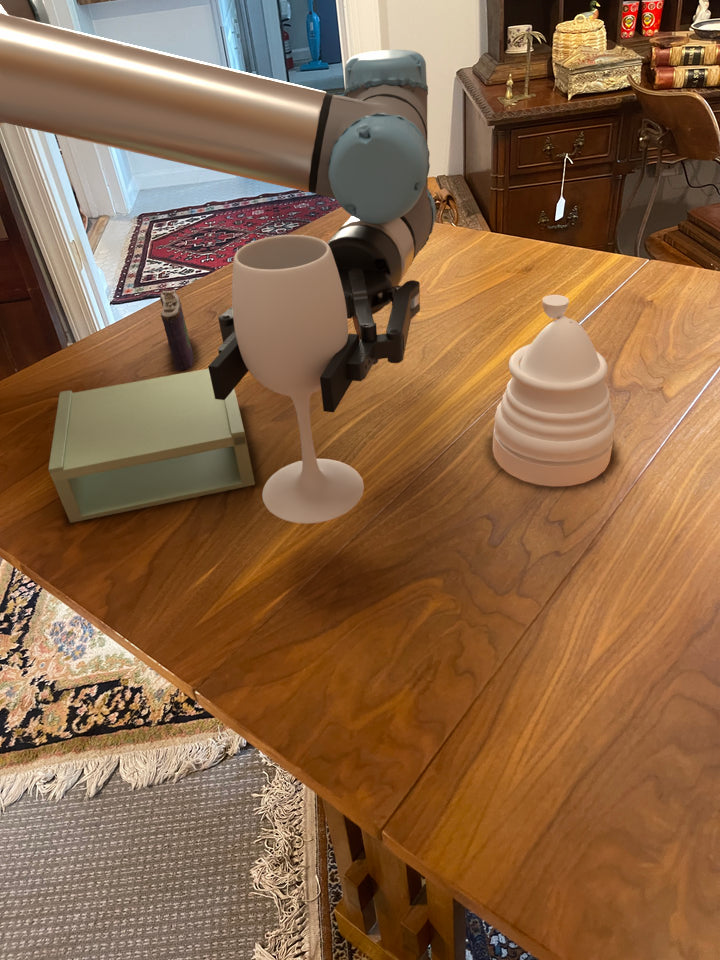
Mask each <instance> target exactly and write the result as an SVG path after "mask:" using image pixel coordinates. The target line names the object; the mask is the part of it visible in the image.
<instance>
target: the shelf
mask: <svg viewBox="0 0 720 960" xmlns="http://www.w3.org/2000/svg"><path fill="white" fill-rule="evenodd" d="M58 394H59V396H58V400H57V401H58V402H57V408H56V414H55V421H54V427H53V428H54V429H53V436H52V443H51V448H50V455H49V456H50V457H49V461H48V462H49V463H48V472H49V475H50V477H51V480H52V482H53V485H54V487H55V489H56V492H57V494H58V497H59V499H60V501H61V504H62V506H63V509H64V511H65V513H66V516H67V518H68V521H69V523H70V524H71V523H76V522H81V521H86V520H91V519H96V518H101V517H105V516H111V515H116V514H120V513H126V512H129V511H130V512H131V511H134V510H140V509H145V508H150V507H154V506H158V505H164V504H168V503H174V502H177V501H184V500H188V499H193V498H198V497H202V496H208V495H212V494H217V493H221V492H226V491H227V492H228V491H232V490H237V489H242V488H246V487H250V486H255V485H256V482H255V478H254V472H253V467H252V463H251V457H250V452H249V447H248V442H247V438H246V432H245V428H244V424H243V419H242V415H241V409H240V407H239V401H238V398H237V393H236V389H235V388H234V389H233V390H232V392H231V393H230V394H229V395H228V397H227V398H226V399H225V400H219V399H215V396H214V391H213V387H212V382H211V378H210V373H209V368H203V369H199V370H197V369H196V370H192V371H186V372H182V373H181V372H180V373H176V374H171V375H165V376H160V377H153V378H148V379H143V380H137V381H132V382H131V381H130V382H125V383H119V384H115V385H108V386H104V387H98V388H93V389H87V390H82V391H76V392H73V390H72V389H70V390H64V391H60V392H59V393H58Z"/></svg>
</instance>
